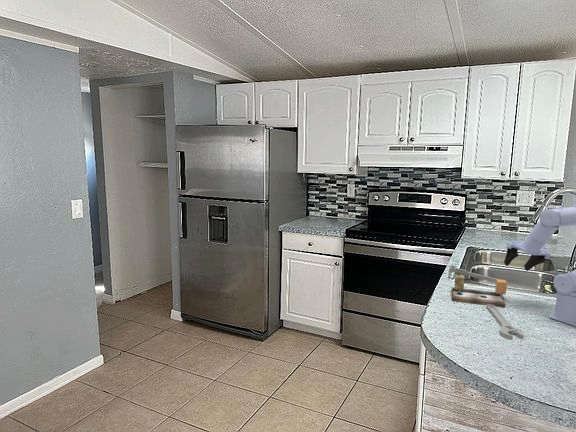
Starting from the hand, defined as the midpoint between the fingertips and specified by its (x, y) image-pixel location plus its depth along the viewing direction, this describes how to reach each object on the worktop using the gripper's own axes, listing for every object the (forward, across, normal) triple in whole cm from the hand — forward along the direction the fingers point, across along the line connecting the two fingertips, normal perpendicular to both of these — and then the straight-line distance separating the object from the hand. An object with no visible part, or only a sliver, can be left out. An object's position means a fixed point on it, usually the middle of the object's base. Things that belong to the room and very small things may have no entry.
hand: (515, 266), depth 146 cm
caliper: (+22, +1, -14) cm, 26 cm away
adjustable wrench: (+5, +10, +25) cm, 28 cm away
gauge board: (+14, +9, +6) cm, 18 cm away
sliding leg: (+9, +2, +6) cm, 12 cm away
